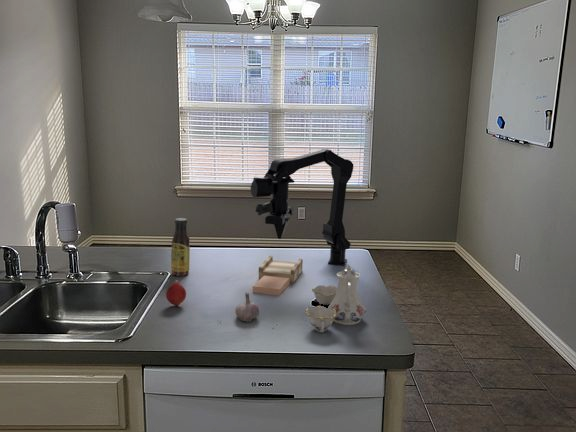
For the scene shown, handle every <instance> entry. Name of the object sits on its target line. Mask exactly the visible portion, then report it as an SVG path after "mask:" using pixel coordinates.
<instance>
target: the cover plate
mask: <svg viewBox="0 0 576 432" xmlns="http://www.w3.org/2000/svg"><path fill="white" fill-rule="evenodd" d="M289 285H291V283H290V278H288V277H278V276H269V275H264V276H263V277H262V278H261V279H260V280H259V279H258V281H256V282H255V283H254V284H253V285H252V293H257V294H265V295H271V296H281V294H282V293H283V292H284V291H285V290H286V288H287V287H288V286H289Z"/></svg>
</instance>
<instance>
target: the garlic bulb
mask: <svg viewBox="0 0 576 432" xmlns="http://www.w3.org/2000/svg"><path fill="white" fill-rule="evenodd" d="M244 294H245V302H244V303H240V304H238V305H237V306H236V307H235V315H236V317H237V318H238V319H239V320H240V321H243V322H245V323H251V322H252V321H253V320H254V319H255V318H257V317H258V316H259V315H260V309H259V305H258V304H257V303H256V302H251V301H250V293H249V292H247V291H246V292H245V293H244Z"/></svg>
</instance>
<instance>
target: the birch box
mask: <svg viewBox="0 0 576 432" xmlns="http://www.w3.org/2000/svg"><path fill="white" fill-rule="evenodd" d="M303 261H304V259H303V258H298V260H297V261H286V260H276V259H275V260H274V259H273V255H269V256H268V257H267V258H266V259H265V260H264V261H263V262H262V263H261V264H260V265H259V266H258V281H259V280H260V279H261V278H262V277H263V276H264V275H269V276H278V277H288V278H290V284H294V283H295V282H296V281H297V279H298V278H299V276H300V274H301V273H302V272H303Z"/></svg>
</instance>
